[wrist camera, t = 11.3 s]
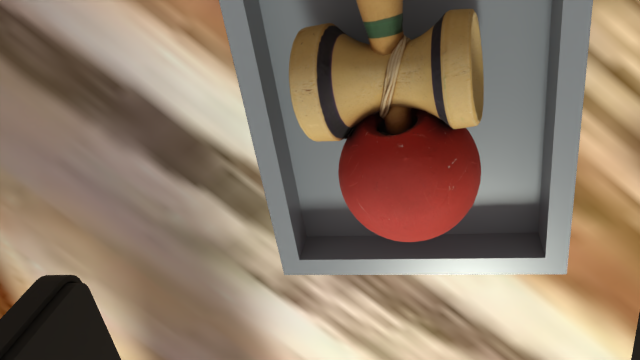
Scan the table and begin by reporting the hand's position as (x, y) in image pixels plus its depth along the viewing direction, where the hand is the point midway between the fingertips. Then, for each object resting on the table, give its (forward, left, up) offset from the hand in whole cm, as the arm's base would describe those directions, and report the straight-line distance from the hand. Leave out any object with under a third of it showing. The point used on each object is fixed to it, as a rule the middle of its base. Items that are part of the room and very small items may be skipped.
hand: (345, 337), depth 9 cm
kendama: (+1, 0, -17) cm, 17 cm away
